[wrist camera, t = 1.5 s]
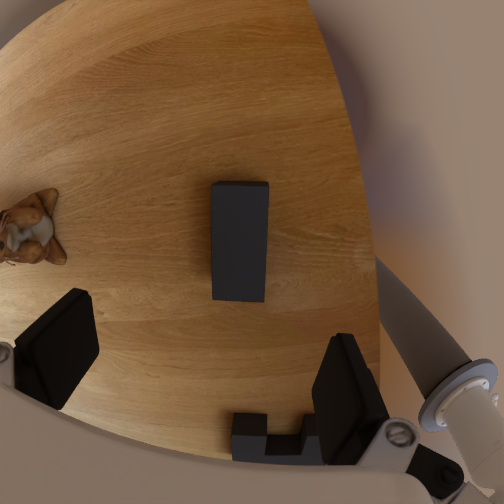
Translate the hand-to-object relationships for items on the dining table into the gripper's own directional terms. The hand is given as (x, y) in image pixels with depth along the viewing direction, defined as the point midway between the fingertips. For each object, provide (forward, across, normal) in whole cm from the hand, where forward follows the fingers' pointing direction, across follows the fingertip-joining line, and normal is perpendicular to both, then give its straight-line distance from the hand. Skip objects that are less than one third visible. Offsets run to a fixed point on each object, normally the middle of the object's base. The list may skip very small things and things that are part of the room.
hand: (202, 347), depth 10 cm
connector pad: (+21, 0, +1) cm, 21 cm away
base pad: (+20, -11, +35) cm, 42 cm away
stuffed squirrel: (+21, +29, +4) cm, 36 cm away
